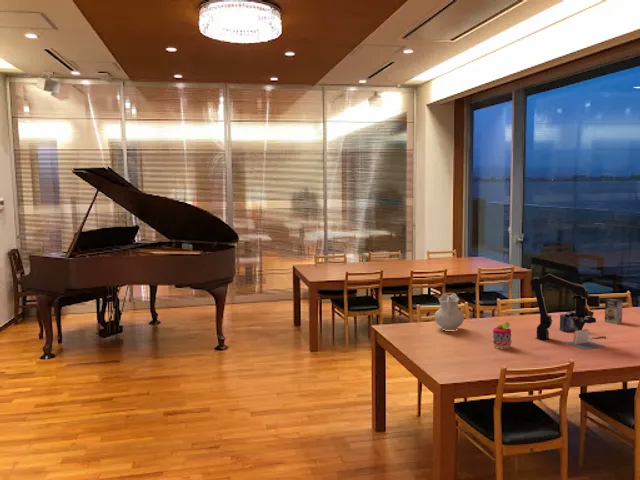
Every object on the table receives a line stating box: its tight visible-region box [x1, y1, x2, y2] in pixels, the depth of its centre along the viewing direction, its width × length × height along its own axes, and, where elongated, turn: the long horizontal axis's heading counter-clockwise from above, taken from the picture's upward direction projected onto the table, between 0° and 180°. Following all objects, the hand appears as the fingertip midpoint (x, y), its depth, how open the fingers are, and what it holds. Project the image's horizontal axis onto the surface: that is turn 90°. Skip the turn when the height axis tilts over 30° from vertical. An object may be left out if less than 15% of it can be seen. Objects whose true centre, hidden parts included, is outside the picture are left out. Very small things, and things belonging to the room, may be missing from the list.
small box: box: [559, 313, 578, 333], centre depth 351 cm, size 11×6×10 cm, turn 92°
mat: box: [565, 341, 607, 351], centre depth 318 cm, size 16×16×1 cm
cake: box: [492, 321, 512, 350], centre depth 320 cm, size 10×10×15 cm
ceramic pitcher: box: [434, 292, 465, 330], centre depth 360 cm, size 22×20×25 cm
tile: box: [572, 328, 591, 344], centre depth 320 cm, size 9×2×8 cm, turn 107°
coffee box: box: [604, 298, 624, 325], centre depth 368 cm, size 9×6×16 cm
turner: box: [588, 335, 607, 342], centre depth 330 cm, size 15×5×1 cm, turn 108°
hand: (580, 331), depth 321 cm, fingers closed
